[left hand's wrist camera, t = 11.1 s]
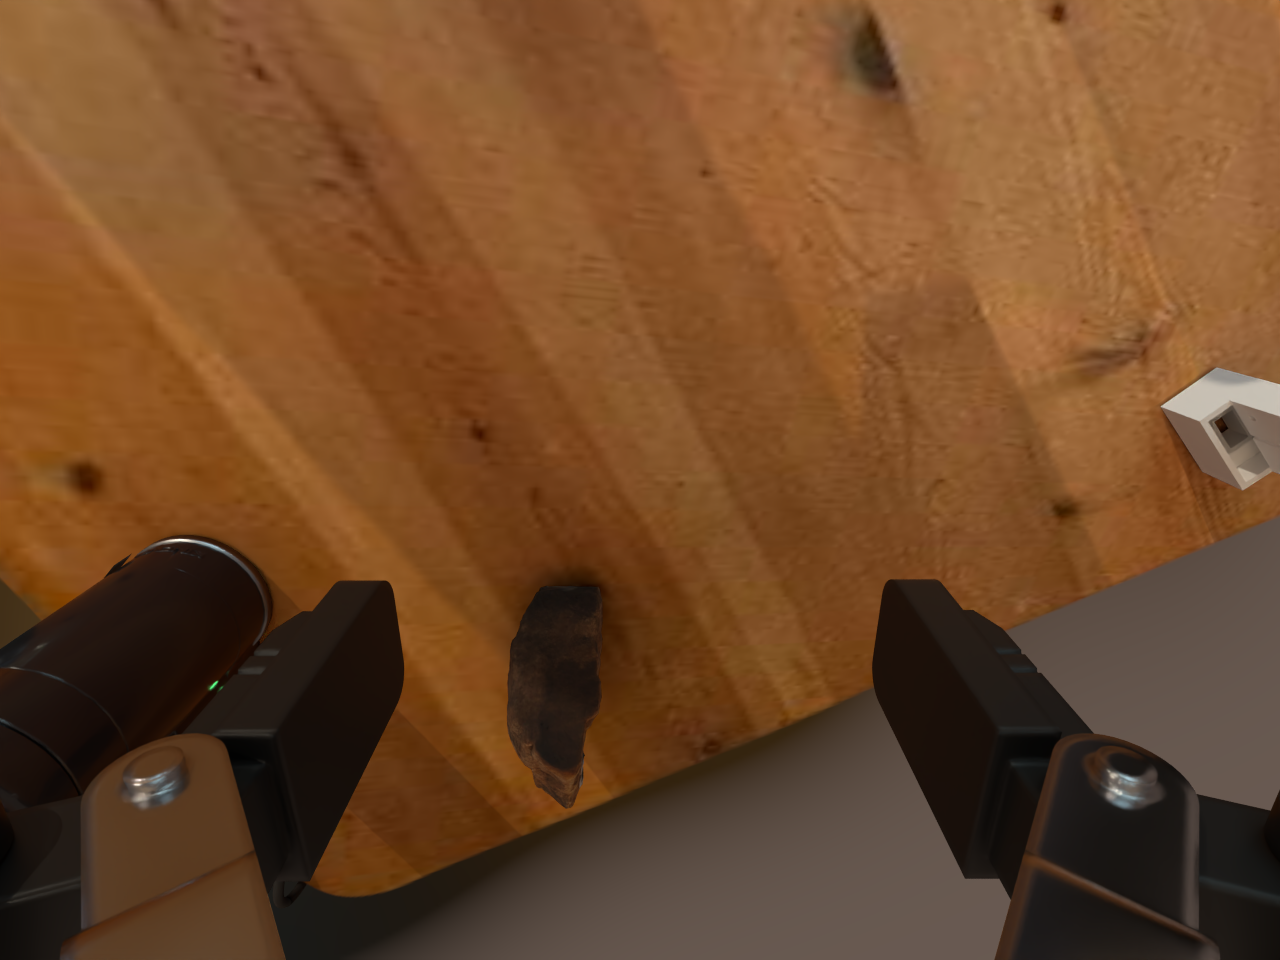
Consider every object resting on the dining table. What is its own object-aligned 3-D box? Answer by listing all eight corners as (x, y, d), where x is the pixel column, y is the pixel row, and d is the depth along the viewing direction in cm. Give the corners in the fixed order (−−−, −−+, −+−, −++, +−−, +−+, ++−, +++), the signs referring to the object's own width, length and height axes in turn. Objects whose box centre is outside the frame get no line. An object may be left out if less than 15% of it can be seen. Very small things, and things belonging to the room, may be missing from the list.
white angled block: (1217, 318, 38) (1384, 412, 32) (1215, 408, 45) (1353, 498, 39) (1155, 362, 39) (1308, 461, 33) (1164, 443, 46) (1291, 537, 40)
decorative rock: (590, 719, 51) (578, 844, 41) (509, 707, 51) (476, 830, 41) (617, 579, 47) (611, 679, 37) (528, 565, 46) (497, 662, 36)
